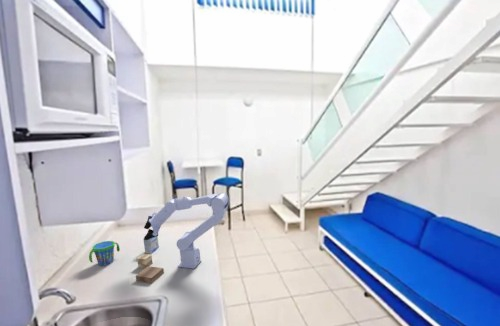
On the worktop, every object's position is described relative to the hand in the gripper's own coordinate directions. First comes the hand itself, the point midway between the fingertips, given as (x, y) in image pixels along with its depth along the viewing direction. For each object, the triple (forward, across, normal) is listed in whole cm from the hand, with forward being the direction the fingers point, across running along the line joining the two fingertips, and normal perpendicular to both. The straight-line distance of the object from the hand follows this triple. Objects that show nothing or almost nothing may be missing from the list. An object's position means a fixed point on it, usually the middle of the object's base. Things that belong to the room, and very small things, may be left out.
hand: (145, 233), depth 150 cm
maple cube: (+11, +10, +8) cm, 16 cm away
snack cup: (+29, -1, -4) cm, 29 cm away
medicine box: (+15, -6, +15) cm, 22 cm away
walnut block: (+5, +21, +6) cm, 23 cm away
